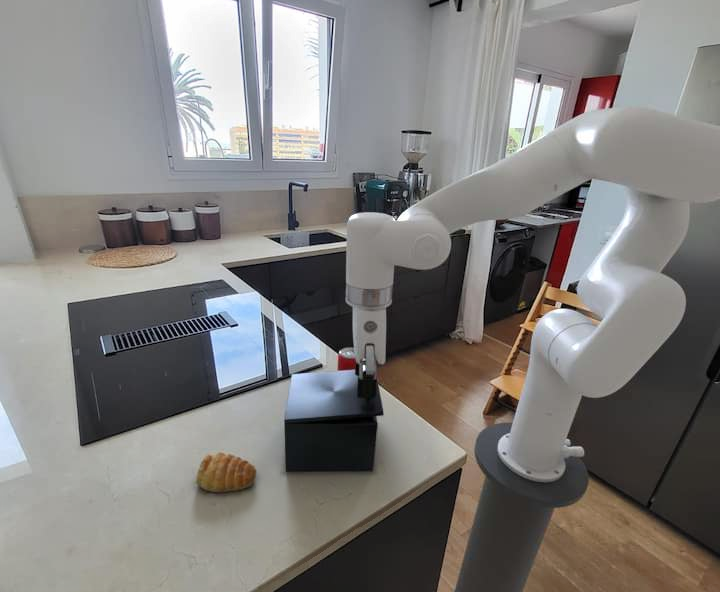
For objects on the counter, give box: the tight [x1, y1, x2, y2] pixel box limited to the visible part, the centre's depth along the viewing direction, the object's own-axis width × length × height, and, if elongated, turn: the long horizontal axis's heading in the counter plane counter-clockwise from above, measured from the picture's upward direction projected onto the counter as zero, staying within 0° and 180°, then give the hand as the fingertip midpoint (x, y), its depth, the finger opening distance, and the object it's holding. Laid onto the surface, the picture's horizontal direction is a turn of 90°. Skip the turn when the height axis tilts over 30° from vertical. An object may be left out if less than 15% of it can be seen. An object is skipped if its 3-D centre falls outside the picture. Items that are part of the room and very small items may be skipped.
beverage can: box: [337, 347, 356, 371], centre depth 87 cm, size 5×5×12 cm
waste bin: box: [283, 416, 379, 473], centre depth 74 cm, size 16×14×11 cm
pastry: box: [195, 452, 257, 493], centre depth 66 cm, size 9×7×4 cm
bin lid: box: [283, 358, 385, 423], centre depth 70 cm, size 16×14×6 cm
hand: (364, 384), depth 71 cm, fingers closed on bin lid, 6 cm apart
